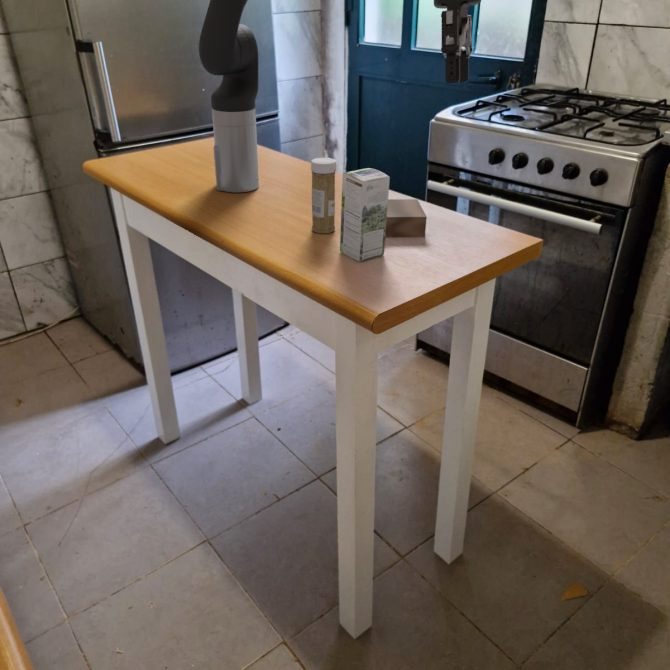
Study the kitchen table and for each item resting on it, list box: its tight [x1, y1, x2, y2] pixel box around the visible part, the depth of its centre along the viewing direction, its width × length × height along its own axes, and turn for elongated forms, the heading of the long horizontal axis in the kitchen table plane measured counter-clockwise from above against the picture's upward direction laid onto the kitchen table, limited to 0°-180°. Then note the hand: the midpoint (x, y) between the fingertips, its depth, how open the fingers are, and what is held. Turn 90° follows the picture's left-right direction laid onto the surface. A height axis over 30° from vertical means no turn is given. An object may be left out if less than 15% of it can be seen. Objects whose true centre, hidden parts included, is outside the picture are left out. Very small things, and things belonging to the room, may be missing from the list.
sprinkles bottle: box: [310, 157, 337, 235], centre depth 117 cm, size 5×5×14 cm
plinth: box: [385, 198, 428, 238], centre depth 121 cm, size 10×10×4 cm
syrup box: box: [339, 167, 391, 263], centre depth 107 cm, size 6×6×14 cm
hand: (457, 82), depth 105 cm, fingers open, 8 cm apart
